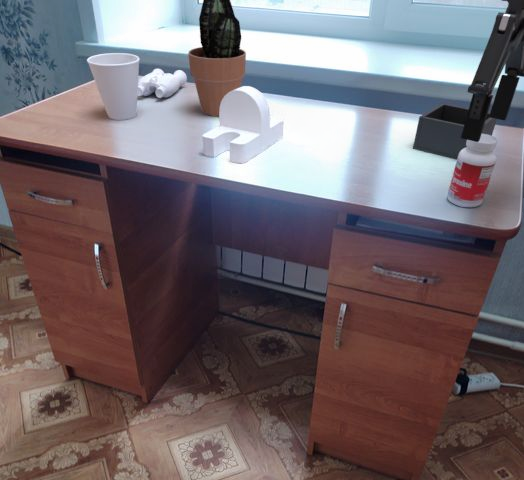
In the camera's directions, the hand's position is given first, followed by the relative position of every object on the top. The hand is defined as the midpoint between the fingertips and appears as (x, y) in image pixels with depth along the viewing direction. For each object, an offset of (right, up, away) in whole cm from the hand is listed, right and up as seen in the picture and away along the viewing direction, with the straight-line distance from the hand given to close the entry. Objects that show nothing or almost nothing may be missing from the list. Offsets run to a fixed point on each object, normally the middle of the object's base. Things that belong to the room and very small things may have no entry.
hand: (484, 128), depth 82 cm
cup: (-71, +21, +42) cm, 85 cm away
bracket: (-40, +8, +28) cm, 50 cm away
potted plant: (-47, +24, +46) cm, 70 cm away
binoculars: (-65, +35, +57) cm, 93 cm away
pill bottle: (0, -10, +8) cm, 13 cm away
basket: (+5, +9, +29) cm, 30 cm away
